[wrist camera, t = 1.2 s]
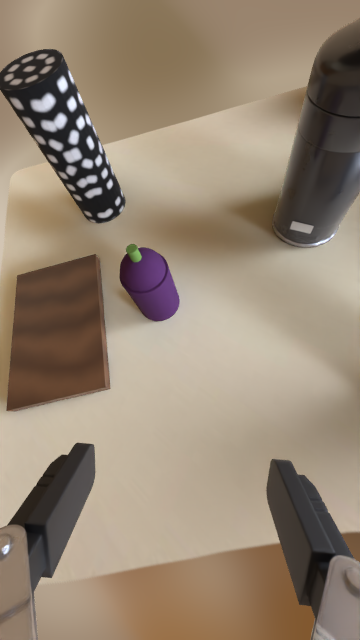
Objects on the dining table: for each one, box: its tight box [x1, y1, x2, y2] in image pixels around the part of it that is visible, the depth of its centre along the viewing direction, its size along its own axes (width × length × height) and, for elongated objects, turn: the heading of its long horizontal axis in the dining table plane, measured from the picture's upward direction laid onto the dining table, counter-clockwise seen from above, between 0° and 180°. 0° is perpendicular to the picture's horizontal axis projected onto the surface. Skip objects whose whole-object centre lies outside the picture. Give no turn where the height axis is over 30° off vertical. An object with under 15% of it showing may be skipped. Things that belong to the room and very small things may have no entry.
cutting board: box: [6, 254, 110, 411], centre depth 38 cm, size 22×14×2 cm, turn 11°
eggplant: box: [120, 244, 179, 321], centre depth 31 cm, size 6×6×13 cm
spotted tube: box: [0, 49, 125, 223], centre depth 38 cm, size 8×8×20 cm
